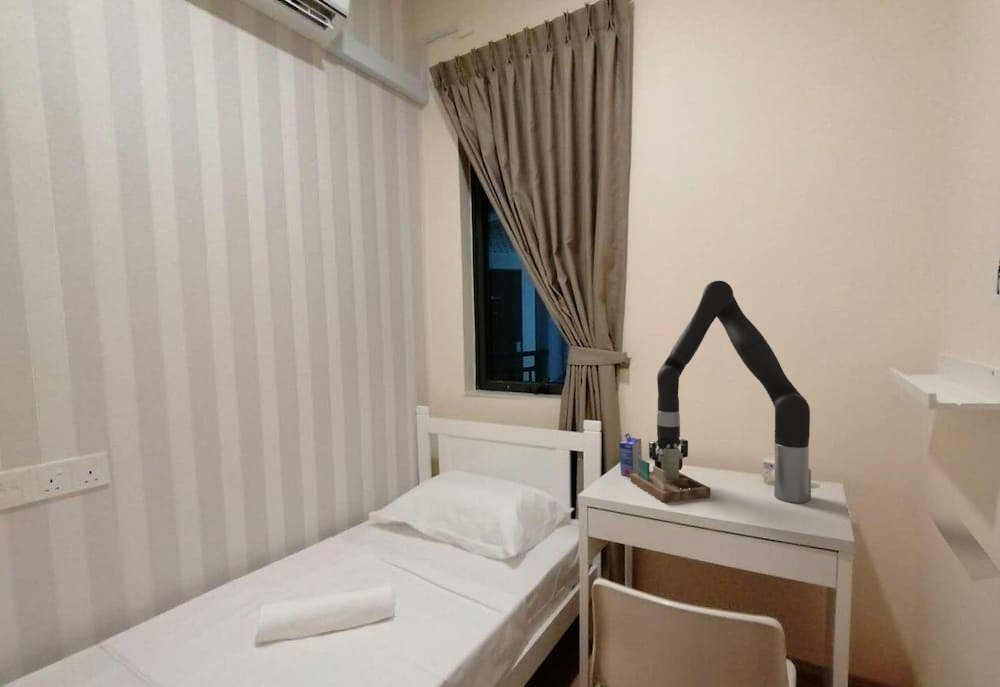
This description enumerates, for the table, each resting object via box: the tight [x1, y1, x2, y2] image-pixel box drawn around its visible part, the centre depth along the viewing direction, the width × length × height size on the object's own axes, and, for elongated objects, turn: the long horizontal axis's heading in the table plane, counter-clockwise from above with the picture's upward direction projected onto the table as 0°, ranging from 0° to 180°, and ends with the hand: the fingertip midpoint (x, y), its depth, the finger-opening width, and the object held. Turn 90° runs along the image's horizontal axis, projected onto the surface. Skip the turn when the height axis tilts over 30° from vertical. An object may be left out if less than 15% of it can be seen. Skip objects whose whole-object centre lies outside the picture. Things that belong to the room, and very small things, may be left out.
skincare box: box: [660, 448, 680, 480], centre depth 170 cm, size 6×4×12 cm
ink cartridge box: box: [619, 433, 643, 477], centre depth 183 cm, size 10×6×14 cm, turn 146°
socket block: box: [630, 458, 711, 503], centre depth 164 cm, size 17×20×9 cm
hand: (668, 470), depth 170 cm, fingers open, 7 cm apart
